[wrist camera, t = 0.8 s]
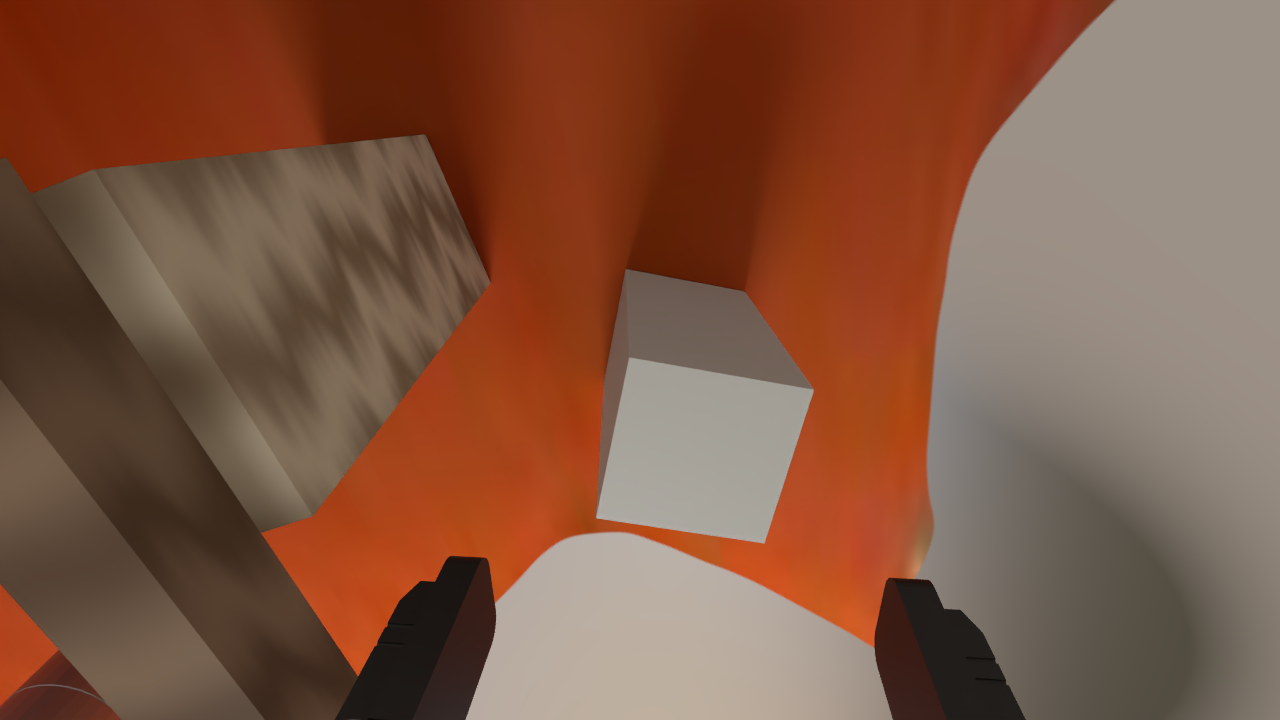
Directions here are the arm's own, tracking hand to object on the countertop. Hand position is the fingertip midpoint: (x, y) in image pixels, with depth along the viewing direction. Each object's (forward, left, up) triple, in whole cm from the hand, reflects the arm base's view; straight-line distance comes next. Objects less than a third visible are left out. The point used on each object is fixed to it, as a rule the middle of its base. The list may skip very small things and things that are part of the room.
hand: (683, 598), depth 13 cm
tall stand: (-3, +17, -40) cm, 44 cm away
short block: (-8, -5, -40) cm, 41 cm away
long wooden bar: (-6, +16, -8) cm, 19 cm away
